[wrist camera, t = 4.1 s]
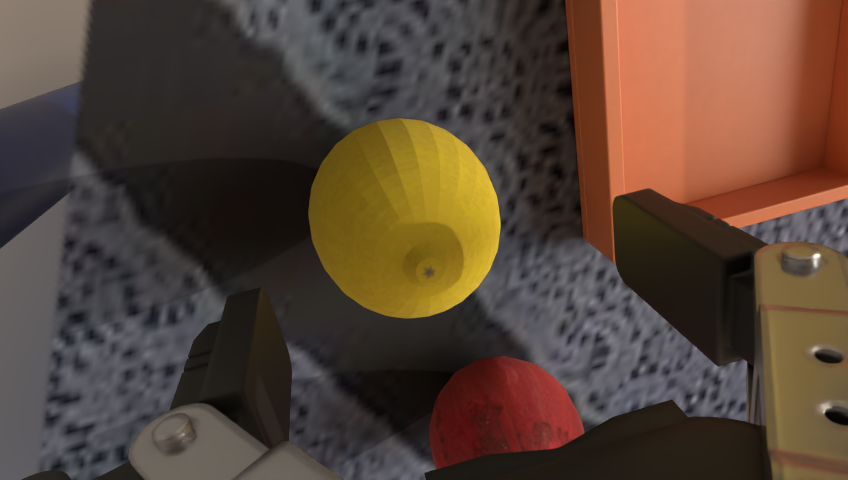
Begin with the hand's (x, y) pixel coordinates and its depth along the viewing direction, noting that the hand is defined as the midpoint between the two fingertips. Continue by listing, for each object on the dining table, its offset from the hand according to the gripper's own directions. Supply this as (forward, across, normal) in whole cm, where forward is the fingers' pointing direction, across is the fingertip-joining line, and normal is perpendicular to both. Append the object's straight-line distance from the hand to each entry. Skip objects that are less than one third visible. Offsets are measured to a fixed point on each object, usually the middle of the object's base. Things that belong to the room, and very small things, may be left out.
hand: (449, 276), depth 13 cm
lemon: (+9, 0, 0) cm, 9 cm away
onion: (+9, -2, +10) cm, 13 cm away
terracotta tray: (+9, -12, -1) cm, 15 cm away
